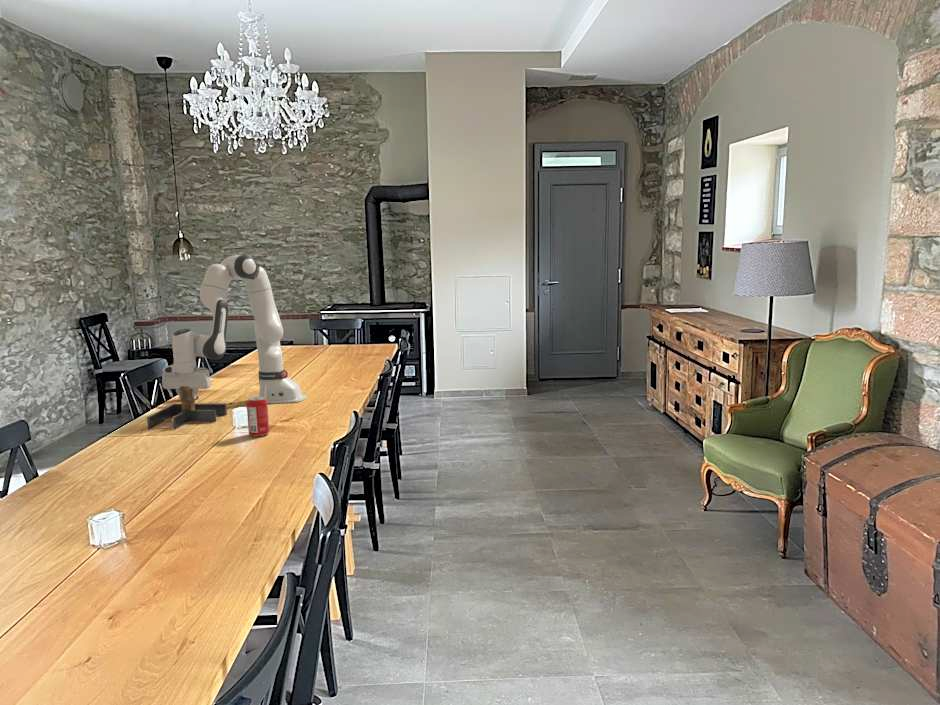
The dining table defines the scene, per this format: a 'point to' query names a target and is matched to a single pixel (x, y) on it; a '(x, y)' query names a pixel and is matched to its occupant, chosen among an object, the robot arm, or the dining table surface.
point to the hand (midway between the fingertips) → (187, 398)
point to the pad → (165, 425)
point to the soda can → (257, 416)
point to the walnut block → (187, 398)
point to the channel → (187, 414)
